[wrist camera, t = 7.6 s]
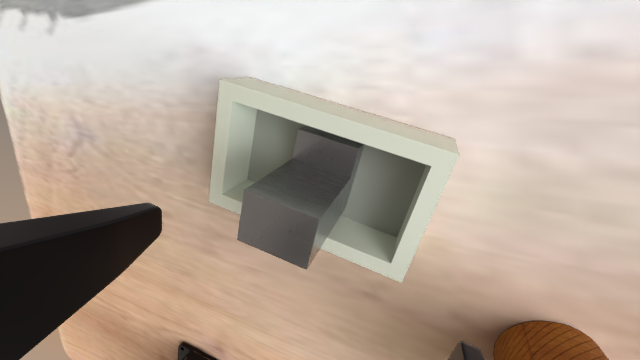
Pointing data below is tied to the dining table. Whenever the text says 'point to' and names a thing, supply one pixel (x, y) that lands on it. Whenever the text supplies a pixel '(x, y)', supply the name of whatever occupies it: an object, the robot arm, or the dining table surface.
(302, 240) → the grey l-shaped step block
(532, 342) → the disposable coffee cup
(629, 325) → the dining table surface
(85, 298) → the robot arm
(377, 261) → the pale green open box
